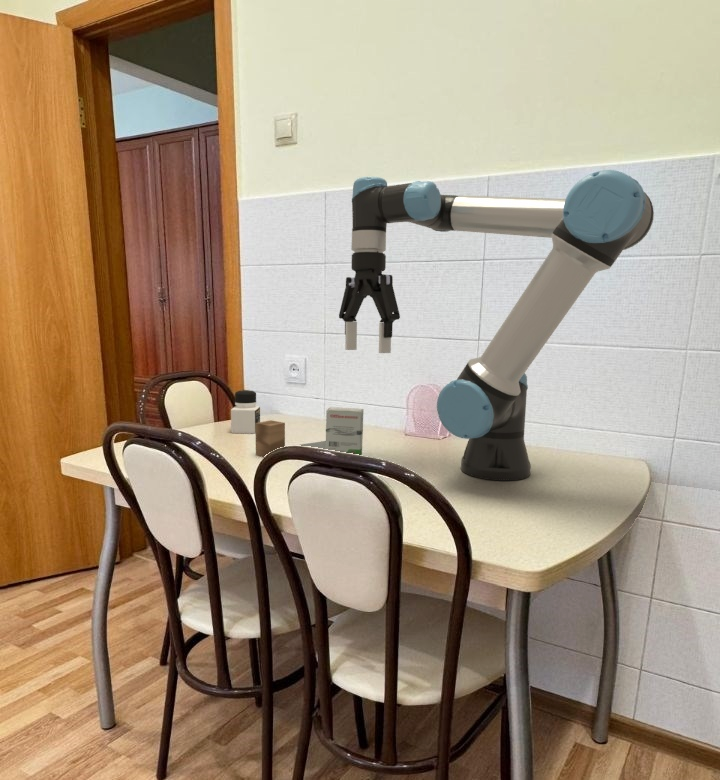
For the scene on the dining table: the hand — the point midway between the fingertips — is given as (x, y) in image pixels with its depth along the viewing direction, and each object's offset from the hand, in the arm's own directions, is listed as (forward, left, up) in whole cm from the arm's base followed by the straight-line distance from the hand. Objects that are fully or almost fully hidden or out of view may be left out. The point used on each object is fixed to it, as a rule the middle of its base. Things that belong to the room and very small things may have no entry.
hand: (367, 351), depth 126 cm
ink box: (+8, 0, -26) cm, 27 cm away
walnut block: (+20, +14, -26) cm, 36 cm away
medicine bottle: (+49, +6, -26) cm, 56 cm away
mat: (+18, +1, -26) cm, 32 cm away
